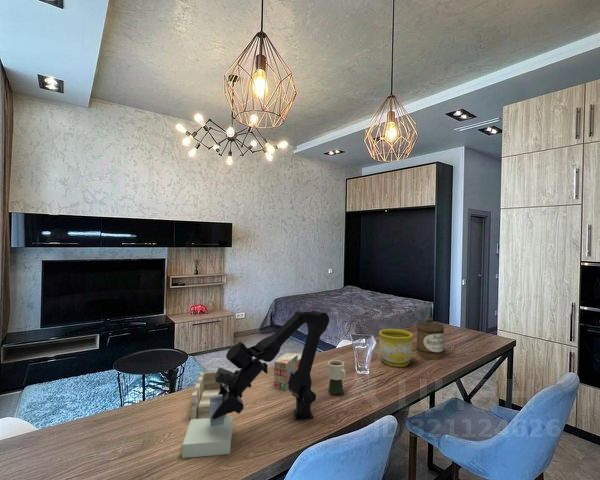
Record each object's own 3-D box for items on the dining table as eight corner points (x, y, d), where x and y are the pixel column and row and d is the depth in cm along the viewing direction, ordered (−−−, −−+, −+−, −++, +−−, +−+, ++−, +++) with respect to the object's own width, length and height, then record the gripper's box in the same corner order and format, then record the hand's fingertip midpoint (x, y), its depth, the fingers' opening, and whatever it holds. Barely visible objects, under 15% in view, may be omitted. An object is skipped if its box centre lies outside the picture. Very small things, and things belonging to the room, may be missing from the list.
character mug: (350, 395, 136) (350, 364, 136) (339, 399, 132) (339, 368, 132) (333, 386, 145) (333, 357, 145) (321, 390, 140) (321, 360, 140)
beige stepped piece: (226, 417, 117) (227, 393, 118) (191, 420, 115) (191, 395, 116) (230, 390, 139) (230, 370, 139) (200, 392, 137) (201, 371, 137)
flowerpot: (420, 366, 169) (420, 335, 169) (392, 371, 162) (392, 339, 163) (398, 355, 186) (398, 327, 186) (372, 359, 179) (372, 330, 180)
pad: (229, 453, 97) (230, 440, 97) (182, 458, 95) (182, 444, 95) (232, 427, 111) (232, 416, 111) (190, 431, 109) (191, 419, 109)
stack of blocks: (293, 371, 162) (293, 347, 162) (305, 373, 159) (305, 348, 160) (273, 388, 142) (274, 360, 142) (286, 391, 140) (286, 362, 140)
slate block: (223, 424, 101) (224, 402, 102) (210, 426, 100) (211, 404, 100) (222, 415, 107) (222, 394, 107) (209, 417, 106) (210, 395, 106)
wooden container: (428, 360, 178) (427, 321, 178) (411, 352, 192) (411, 315, 192) (449, 358, 182) (449, 319, 182) (432, 350, 196) (432, 314, 197)
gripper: (226, 351, 114) (194, 386, 110) (233, 370, 96) (194, 412, 93) (248, 370, 117) (217, 405, 113) (258, 392, 99) (221, 435, 95)
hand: (212, 413), depth 103 cm, fingers closed on slate block, 6 cm apart
